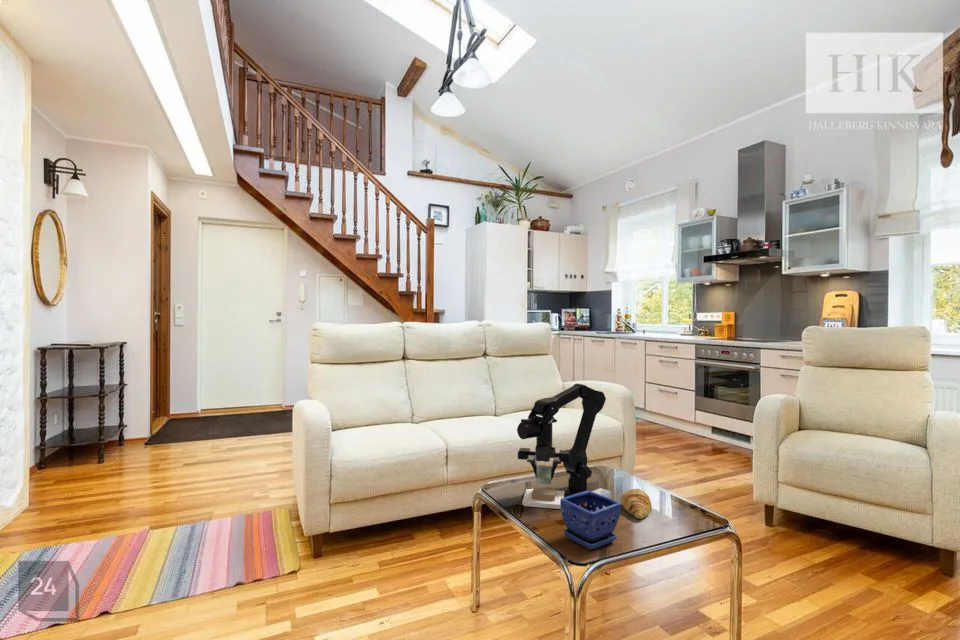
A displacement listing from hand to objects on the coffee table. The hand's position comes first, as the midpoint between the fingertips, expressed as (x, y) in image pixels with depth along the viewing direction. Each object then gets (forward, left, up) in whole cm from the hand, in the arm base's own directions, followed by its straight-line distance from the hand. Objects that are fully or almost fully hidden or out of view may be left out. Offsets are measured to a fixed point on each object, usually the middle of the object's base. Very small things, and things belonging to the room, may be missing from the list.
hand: (544, 478), depth 177 cm
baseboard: (0, 0, -8) cm, 8 cm away
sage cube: (0, 0, -1) cm, 1 cm away
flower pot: (-16, +29, -8) cm, 34 cm away
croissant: (-31, +1, -8) cm, 33 cm away
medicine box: (-19, +12, -8) cm, 24 cm away
